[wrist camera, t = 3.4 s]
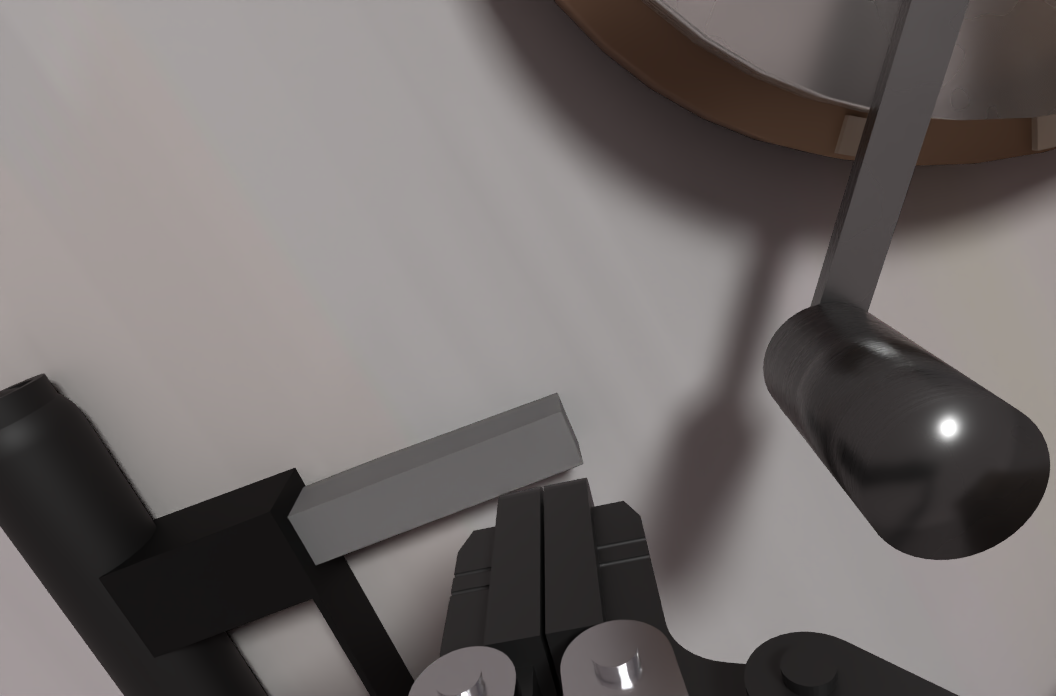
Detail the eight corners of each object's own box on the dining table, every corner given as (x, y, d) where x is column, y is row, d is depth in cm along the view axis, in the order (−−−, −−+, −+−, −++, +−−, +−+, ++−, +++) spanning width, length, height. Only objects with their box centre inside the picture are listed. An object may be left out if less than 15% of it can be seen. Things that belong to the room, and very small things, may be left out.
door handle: (469, 201, 16) (-141, 456, 18) (729, 815, 22) (258, 971, 24) (474, 187, 19) (-44, 404, 21) (701, 728, 25) (287, 870, 27)
